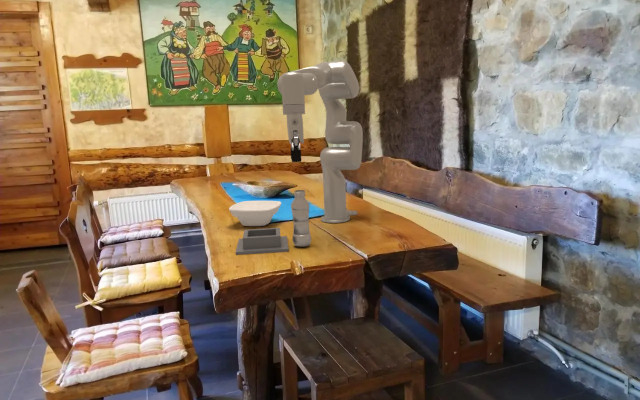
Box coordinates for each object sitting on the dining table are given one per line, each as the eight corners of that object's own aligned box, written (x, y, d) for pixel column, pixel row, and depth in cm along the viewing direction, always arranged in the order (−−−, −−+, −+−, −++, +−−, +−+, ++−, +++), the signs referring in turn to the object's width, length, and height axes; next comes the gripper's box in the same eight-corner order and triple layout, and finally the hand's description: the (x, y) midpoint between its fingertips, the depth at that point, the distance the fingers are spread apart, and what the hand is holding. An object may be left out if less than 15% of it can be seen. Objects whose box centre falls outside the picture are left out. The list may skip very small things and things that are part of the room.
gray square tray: (286, 238, 181) (286, 225, 180) (288, 251, 164) (287, 237, 163) (238, 241, 179) (238, 228, 178) (235, 254, 163) (234, 240, 162)
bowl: (272, 231, 193) (271, 210, 191) (224, 230, 197) (223, 210, 195) (286, 219, 213) (285, 200, 211) (242, 218, 217) (241, 200, 215)
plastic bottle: (304, 249, 166) (302, 193, 162) (289, 247, 169) (286, 191, 166) (314, 245, 171) (312, 189, 167) (299, 242, 175) (296, 188, 171)
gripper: (306, 109, 154) (308, 162, 157) (303, 109, 171) (305, 157, 174) (283, 110, 153) (285, 163, 156) (282, 110, 170) (284, 158, 173)
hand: (296, 160), depth 165 cm, fingers open, 9 cm apart
